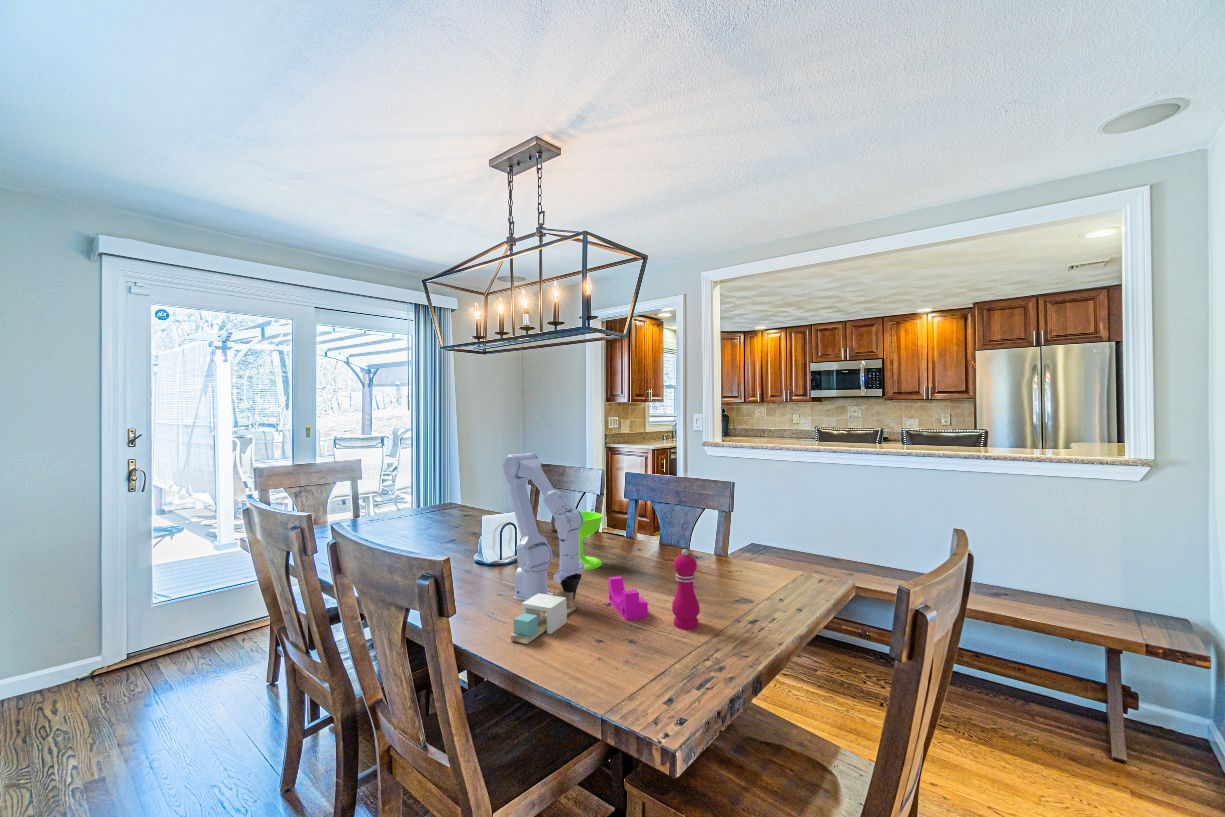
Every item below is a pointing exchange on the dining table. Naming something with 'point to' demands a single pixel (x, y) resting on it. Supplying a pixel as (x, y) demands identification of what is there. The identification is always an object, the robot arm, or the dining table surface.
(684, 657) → the dining table surface
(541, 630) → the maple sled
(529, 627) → the teal block
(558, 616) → the cream tunnel
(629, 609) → the toy block
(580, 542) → the wineglass
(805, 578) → the dining table surface
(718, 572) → the dining table surface
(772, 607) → the dining table surface
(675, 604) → the pepper mill
